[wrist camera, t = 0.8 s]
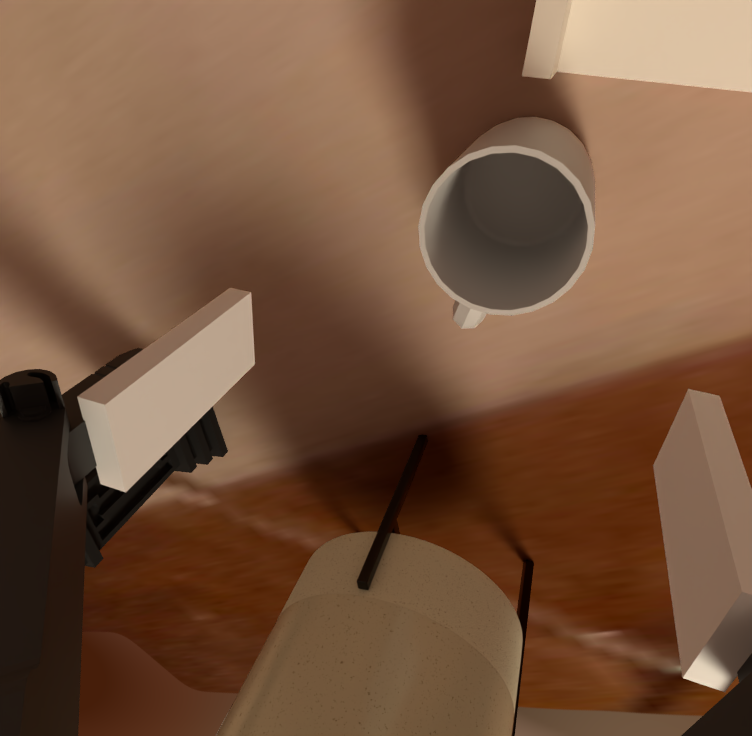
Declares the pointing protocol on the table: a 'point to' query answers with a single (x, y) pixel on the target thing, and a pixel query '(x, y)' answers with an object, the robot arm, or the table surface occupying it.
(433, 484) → the table surface
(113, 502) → the chess piece
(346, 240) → the table surface
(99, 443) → the robot arm
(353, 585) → the planter
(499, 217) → the cup
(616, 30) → the tray
